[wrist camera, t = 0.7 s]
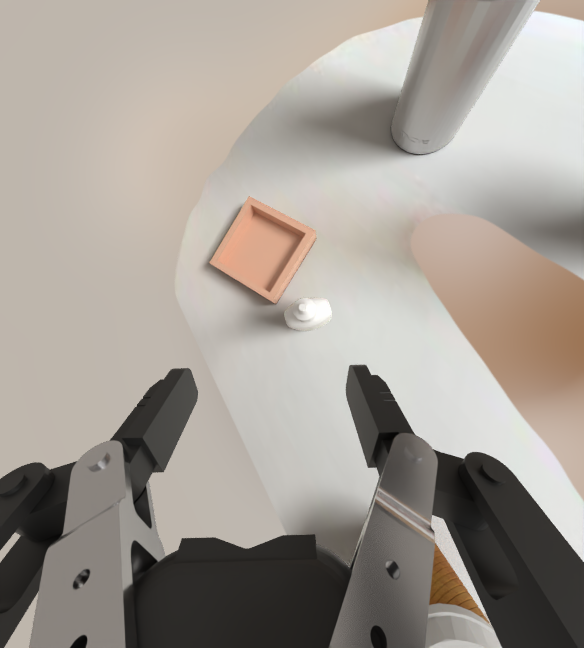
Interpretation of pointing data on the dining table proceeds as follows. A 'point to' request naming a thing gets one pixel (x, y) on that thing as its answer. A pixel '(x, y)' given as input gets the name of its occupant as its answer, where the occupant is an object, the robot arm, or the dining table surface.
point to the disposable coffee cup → (455, 612)
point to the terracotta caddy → (263, 249)
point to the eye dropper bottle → (308, 314)
